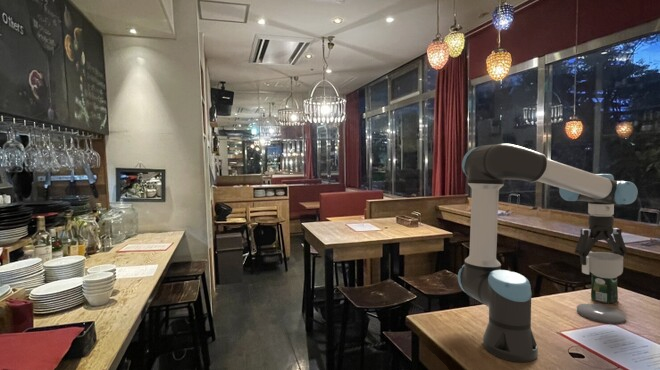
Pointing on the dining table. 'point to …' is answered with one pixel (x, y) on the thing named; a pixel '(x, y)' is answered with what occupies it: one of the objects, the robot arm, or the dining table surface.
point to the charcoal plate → (601, 313)
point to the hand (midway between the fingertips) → (600, 272)
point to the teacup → (605, 264)
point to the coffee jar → (604, 289)
